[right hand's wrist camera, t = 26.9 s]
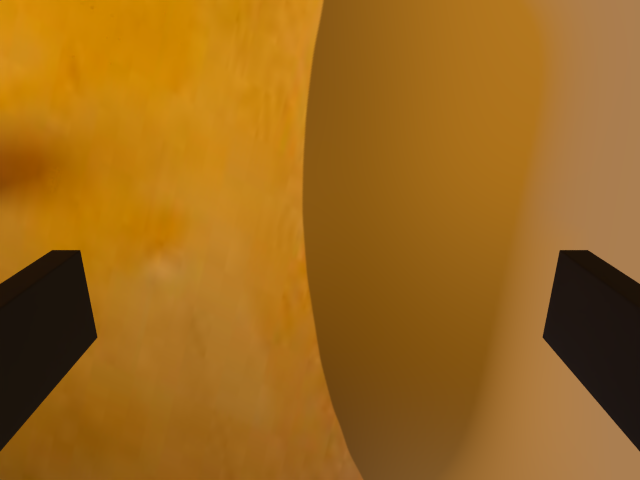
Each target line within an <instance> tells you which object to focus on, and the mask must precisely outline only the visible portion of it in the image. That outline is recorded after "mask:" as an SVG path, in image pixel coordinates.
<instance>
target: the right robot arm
mask: <svg viewBox="0 0 640 480" xmlns="http://www.w3.org/2000/svg"><path fill="white" fill-rule="evenodd" d="M96 338H97V333H96V328H95V323H94V318H93V313H92V308H91V303H90V298H89V293H88V288H87V282H86V277H85V272H84V267H83V262H82V257H81V252H80V250H52V251H50V252H49V253H47V254H46V255H44V256H43V257H41V258H40V259H38V260H36V261H35V262H33V263H32V264H30V265H29V266H27V267H26V268H24V269H23V270H21V271H19V272H18V273H16V274H15V275H13V276H12V277H10V278H9V279H7V280H6V281H4V282H3V283H1V284H0V451H1V450H2V449H3V447H4V446H5V445H6V444H7V443H8V442H9V440H10V439H11V438H12V437H13V436H14V435H15V433H16V432H17V431H18V430H19V429H20V428H21V426H22V425H23V424H24V423H25V422H26V420H27V419H28V418H29V417H30V416H31V415H32V413H33V412H34V411H35V410H36V409H37V408H38V406H39V405H40V404H41V403H42V402H43V401H44V399H45V398H46V397H47V396H48V395H49V394H50V392H51V391H52V390H53V389H54V388H55V386H56V385H57V384H58V383H59V382H60V381H61V379H62V378H63V377H64V376H65V375H66V374H67V372H68V371H69V370H70V369H71V368H72V367H73V365H74V364H75V363H76V362H77V361H78V360H79V358H80V357H81V356H82V355H83V354H84V352H85V351H86V350H87V349H88V348H89V347H90V345H91V344H92V343H93V342H94V341H95V340H96ZM543 338H544V340H545V341H546V342H547V343H548V344H549V345H550V347H551V348H552V349H553V350H554V351H555V352H556V354H557V355H558V356H559V357H560V358H561V359H562V361H563V362H564V363H565V364H566V365H567V367H568V368H569V369H570V370H571V371H572V372H573V374H574V375H575V376H576V377H577V378H578V379H579V381H580V382H581V383H582V384H583V385H584V386H585V388H586V389H587V390H588V391H589V392H590V394H591V395H592V396H593V397H594V398H595V399H596V401H597V402H598V403H599V404H600V405H601V406H602V408H603V409H604V410H605V411H606V412H607V413H608V415H609V416H610V417H611V418H612V419H613V420H614V422H615V423H616V424H617V425H618V426H619V428H620V429H621V430H622V431H623V432H624V433H625V435H626V436H627V437H628V438H629V439H630V440H631V442H632V443H633V444H634V445H635V446H636V447H637V449H638V450H639V451H640V284H639V283H637V282H636V281H634V280H633V279H631V278H630V277H628V276H627V275H625V274H624V273H622V272H620V271H619V270H617V269H616V268H614V267H613V266H611V265H610V264H608V263H607V262H605V261H604V260H602V259H600V258H599V257H597V256H596V255H594V254H593V253H591V252H590V251H588V250H560V252H559V257H558V262H557V267H556V272H555V277H554V282H553V288H552V293H551V298H550V303H549V308H548V313H547V318H546V323H545V328H544V333H543Z"/></svg>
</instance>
